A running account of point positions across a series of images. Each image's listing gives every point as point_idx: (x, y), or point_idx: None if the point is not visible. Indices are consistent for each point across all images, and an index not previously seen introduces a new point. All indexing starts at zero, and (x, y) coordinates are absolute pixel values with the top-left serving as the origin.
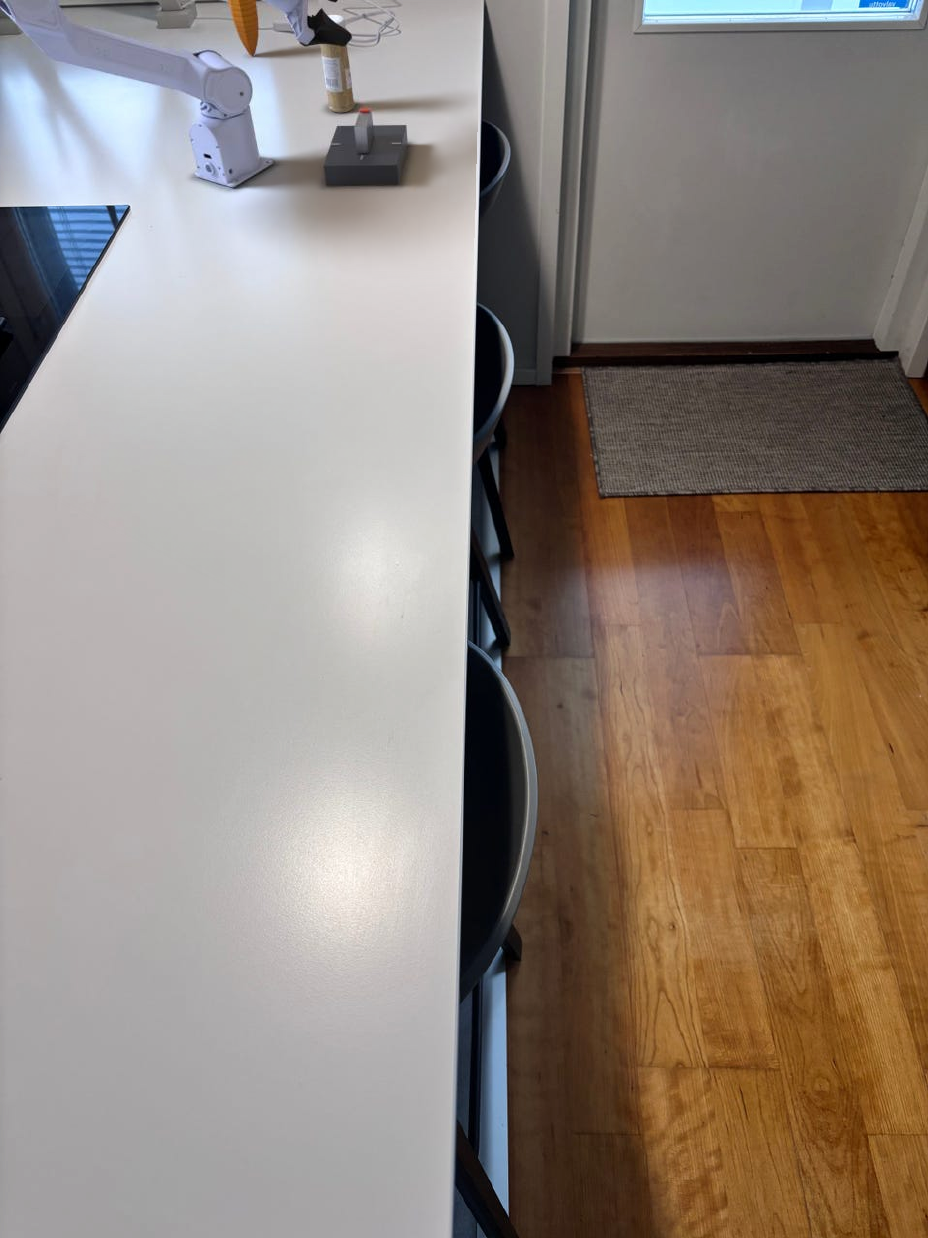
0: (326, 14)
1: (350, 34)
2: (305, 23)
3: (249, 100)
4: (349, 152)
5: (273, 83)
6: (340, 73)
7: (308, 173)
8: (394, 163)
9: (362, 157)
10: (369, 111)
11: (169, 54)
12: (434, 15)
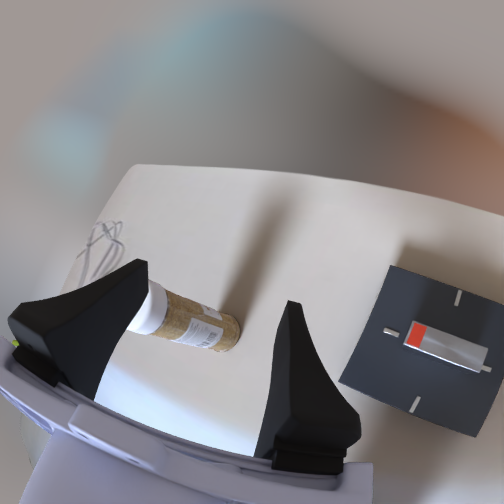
0: (292, 389)
1: (294, 304)
2: (340, 500)
3: None
4: (455, 386)
5: (130, 377)
6: (207, 324)
7: (413, 450)
8: None
9: (486, 367)
10: (426, 327)
11: None
12: (118, 192)
